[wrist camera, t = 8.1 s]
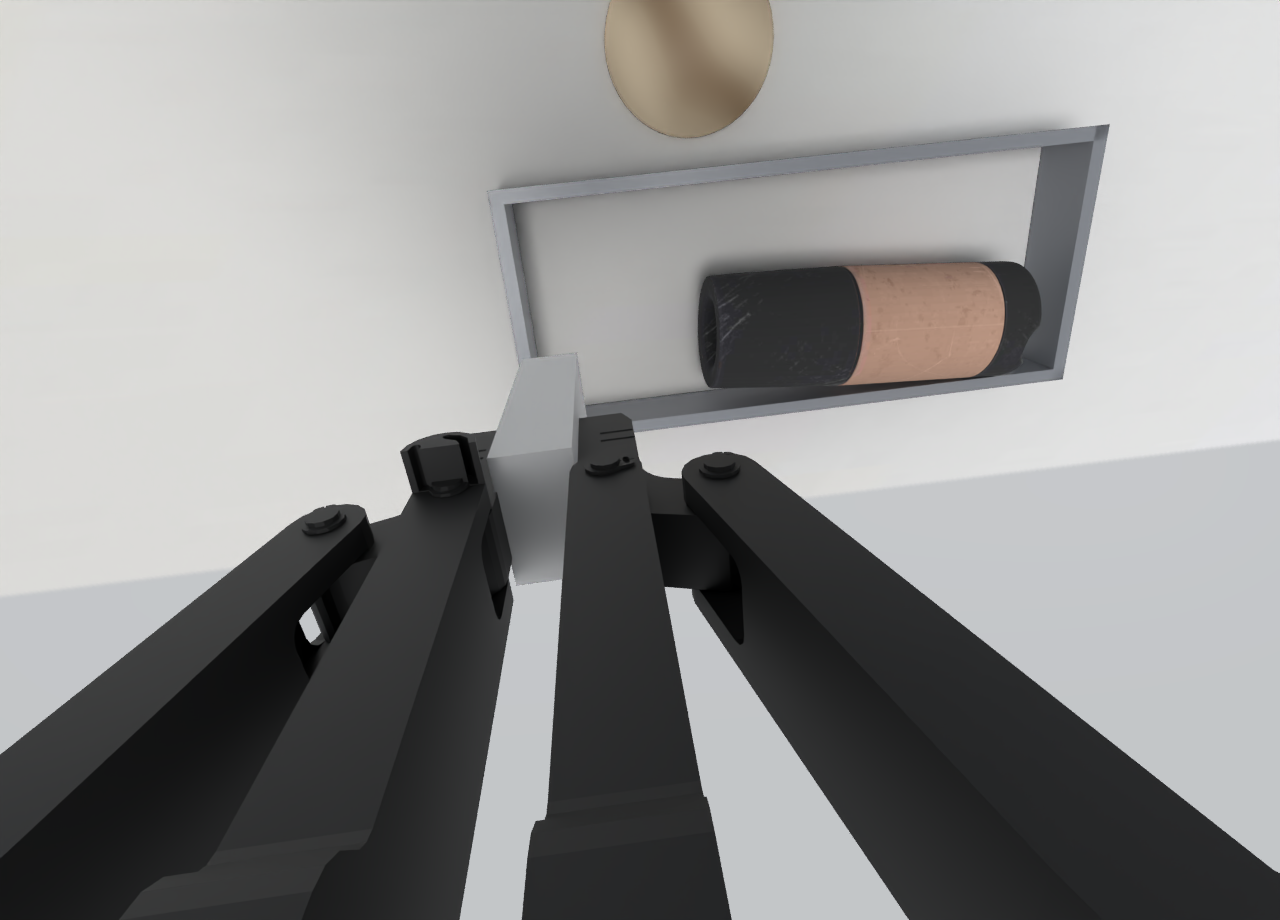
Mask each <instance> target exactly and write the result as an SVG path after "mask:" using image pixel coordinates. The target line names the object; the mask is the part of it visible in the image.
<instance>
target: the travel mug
mask: <svg viewBox="0 0 1280 920" xmlns="http://www.w3.org/2000/svg"><path fill="white" fill-rule="evenodd" d="M1041 316H1042V307H1041V298H1040V293H1039V290H1038V286H1037V284H1036V282H1035V279H1034V278H1033V276H1032V275H1031V273H1030V272H1029V271H1028V270H1027V269H1026V268H1025V267H1023V266H1021V265H1020V264H1018V263H1014V262H1006V261H999V262H964V263H929V264H894V265H858V266H840V267H839V266H834V267H820V268H806V269H792V270H778V271H765V272H751V273H737V274H725V275H714V276H709V277H706V278H705V280H704V282H703V285H702V289H701V294H700V302H699V315H698V338H699V352H700V360H701V367H702V372H703V376H704V379H705V382H706V384H707V385H708V387H710V388H760V387H804V386H837V385H838V386H841V385H857V384H872V383H888V382H903V381H918V380H934V379H949V378H965V377H980V376H996V375H1003V374H1007V373H1010V372H1012V371H1014V370H1015V369H1017V368H1018V367H1020V366H1021V365H1022V364H1023V359H1022V354H1023V351H1024V348H1025V346H1026V344H1027V342H1028V340H1029V338H1030V336H1031V335H1032V334H1033V333H1034V332H1035V331H1036V330H1037V329H1038V328H1039V326H1040V323H1041Z"/></svg>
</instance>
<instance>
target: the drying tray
mask: <svg viewBox="0 0 1280 920" xmlns="http://www.w3.org/2000/svg"><path fill="white" fill-rule="evenodd" d="M1109 125H1110V124H1108V125H1099V126H1089V127H1080V128H1071V129H1061V130H1052V131H1043V132H1033V133H1024V134H1014V135H1005V136H996V137H986V138H977V139H968V140H958V141H949V142H940V143H930V144H921V145H911V146H902V147H893V148H883V149H874V150H865V151H855V152H846V153H837V154H827V155H818V156H808V157H799V158H790V159H780V160H771V161H762V162H752V163H743V164H734V165H724V166H715V167H705V168H696V169H687V170H677V171H668V172H659V173H649V174H640V175H630V176H621V177H612V178H602V179H593V180H584V181H574V182H565V183H556V184H546V185H537V186H527V187H518V188H509V189H499V190H490V191H487V192H488V198H489V203H490V209H491V214H492V220H493V225H494V231H495V236H496V242H497V247H498V253H499V258H500V264H501V269H502V275H503V280H504V286H505V291H506V297H507V302H508V308H509V313H510V319H511V324H512V330H513V335H514V341H515V346H516V352H517V357H518V363H519V367H520V364H521V361H522V359H530V358H538V355H537V349H536V343H535V337H534V331H533V325H532V319H531V313H530V307H529V301H528V295H527V290H526V284H525V278H524V272H523V266H522V260H521V254H520V248H519V242H518V236H517V230H516V224H515V218H514V212H513V206H512V204H514V203H523V202H532V201H541V200H551V199H560V198H569V197H578V196H588V195H597V194H606V193H616V192H625V191H634V190H643V189H653V188H662V187H671V186H680V185H690V184H699V183H708V182H718V181H727V180H736V179H745V178H755V177H764V176H773V175H783V174H792V173H801V172H810V171H820V170H829V169H838V168H847V167H857V166H866V165H875V164H885V163H894V162H903V161H912V160H922V159H931V158H940V157H949V156H959V155H968V154H977V153H987V152H996V151H1005V150H1014V149H1024V148H1033V147H1042V151H1041V158H1040V164H1039V171H1038V178H1037V185H1036V191H1035V198H1034V205H1033V212H1032V218H1031V225H1030V232H1029V239H1028V246H1027V252H1026V259H1025V266H1024V267H1025V268H1026V269H1027V270H1028V271H1029V272H1030V273H1031V275H1032V276H1033V278H1034V279H1035V282H1036V284H1037V286H1038V290H1039V293H1040V298H1041V307H1042V316H1041V323H1040V326H1039V328H1038V329H1037V330H1036V331H1035V332H1034V333H1033V334H1032V335H1031V336H1030V338H1029V340H1028V342H1027V344H1026V346H1025V348H1024V351H1023V354H1022V359H1023V364H1022V365H1021V366H1020V367H1018V368H1017V369H1015V370H1014V371H1012V372H1010V373H1007V374H1003V375H996V376H980V377H965V378H949V379H934V380H918V381H903V382H888V383H872V384H857V385H841V386H838V385H837V386H804V387H760V388H726V389H718V390H709V391H701V392H693V393H685V394H677V395H668V396H660V397H652V398H644V399H636V400H627V401H619V402H611V403H603V404H595V405H586V406H585V408H586V415H587V417H592V416H600V415H608V414H616V413H622V414H624V415H625V416H627V417H628V418H630V419H632V425H633V430H634V432H642V431H650V430H658V429H666V428H674V427H682V426H690V425H698V424H706V423H714V422H722V421H730V420H738V419H746V418H754V417H762V416H770V415H778V414H786V413H795V412H803V411H811V410H819V409H827V408H835V407H843V406H851V405H859V404H867V403H875V402H883V401H891V400H899V399H907V398H915V397H923V396H931V395H939V394H948V393H956V392H964V391H972V390H980V389H988V388H996V387H1004V386H1012V385H1020V384H1028V383H1036V382H1044V381H1052V380H1060V379H1063V374H1064V368H1065V363H1066V358H1067V352H1068V347H1069V341H1070V336H1071V331H1072V325H1073V320H1074V314H1075V309H1076V304H1077V298H1078V293H1079V287H1080V282H1081V276H1082V271H1083V266H1084V260H1085V255H1086V249H1087V244H1088V239H1089V233H1090V228H1091V222H1092V217H1093V212H1094V206H1095V201H1096V195H1097V190H1098V185H1099V179H1100V174H1101V168H1102V163H1103V157H1104V152H1105V147H1106V141H1107V136H1108V130H1109Z"/></svg>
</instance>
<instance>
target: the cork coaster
mask: <svg viewBox="0 0 1280 920" xmlns="http://www.w3.org/2000/svg"><path fill="white" fill-rule="evenodd" d="M773 39H774V35H773V19H772V12H771V8H770V4H769V0H611V1H610V4H609V8H608V13H607V18H606V25H605V54H606V61H607V65H608V70H609V73H610V76H611V79H612V82H613V85H614V87H615V89H616V91H617V93H618V95H619V96H620V98H621V99H622V101H623V102H624V104H625V105H626V107H627V108H628V109H629V110H630V111H631V113H632V114H633V115H634V116H635V117H637V118H638V119H639V120H640V121H641V122H642V123H644V124H645V125H647V126H648V127H650V128H651V129H653V130H655V131H658V132H660V133H662V134H665V135H669V136H673V137H679V138H693V137H701V136H704V135H708V134H711V133H714V132H716V131H718V130H720V129H722V128H724V127H726V126H727V125H729V124H731V123H732V122H733V121H734V120H736V119H737V118H738V117H739V116H740V115H741V114H742V113H743V112H744V111H745V110H746V109H747V108H748V107H749V106H750V104H751V103H752V102H753V100H754V99H755V97H756V96H757V94H758V92H759V90H760V89H761V87H762V85H763V82H764V80H765V78H766V75H767V72H768V69H769V65H770V61H771V56H772V51H773Z"/></svg>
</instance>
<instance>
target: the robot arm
mask: <svg viewBox="0 0 1280 920" xmlns="http://www.w3.org/2000/svg"><path fill="white" fill-rule="evenodd" d="M400 453H401V456H402V459H403V463H404V466H405V469H406V473H407V476H408V480H409V483H410V486H411V490H412V495H411V497H410V499H409V500H408V502H407V504H406V506H405V508H404V509H403V511H402V513H401V515H399V516H396V517H393V518H389V519H385V520H382V521H378V522H375V523H371V524H370V523H369V520H368V517H367V514H366V512H365V509H364V508H362V507H360V506H359V505H350V504H345V505H329V506H326V508H324V507H321V508H318V509H315V510H314V511H313V512H312V513H309V514H307V515H305V516H302V517H301V518H299V519H298V520H296V521H294V522H293V523H291V524H290V525H289V526H287V527H286V528H285V529H284V530H282V531H281V532H280V533H279V534H277V535H276V536H275V537H274V538H272V539H271V540H270V541H269V542H267V543H266V544H265V545H264V546H262V547H261V548H260V549H258V550H257V551H256V552H255V553H253V554H252V555H251V556H250V557H248V558H247V559H246V560H245V561H243V562H242V563H241V564H240V565H238V566H237V567H236V568H235V569H233V570H232V571H231V572H230V573H228V574H227V575H226V576H225V577H223V578H222V579H221V580H219V581H218V582H217V583H216V584H214V585H213V586H212V587H211V588H210V589H208V590H207V591H206V592H204V593H203V594H202V595H201V596H199V597H198V598H197V599H196V600H194V601H193V602H192V603H191V604H189V605H188V606H187V607H186V608H184V609H183V610H182V611H180V612H179V613H178V614H177V615H176V616H174V617H173V618H172V619H170V620H169V621H168V622H167V623H165V624H164V625H163V626H162V627H160V628H159V629H158V630H157V631H155V632H154V633H153V634H152V635H150V636H149V637H148V638H146V639H145V640H144V641H143V642H142V643H140V644H139V645H138V646H136V647H135V648H134V649H133V650H131V651H130V652H129V653H128V654H126V655H125V656H124V657H123V658H121V659H120V660H119V661H118V662H116V663H115V664H114V665H113V666H111V667H110V668H109V669H107V670H106V671H105V672H104V673H102V674H101V675H100V676H99V677H97V678H96V679H95V680H94V681H92V682H91V683H90V684H89V685H87V686H86V687H85V688H84V689H82V690H81V691H80V692H79V693H77V694H76V695H75V696H73V697H72V698H71V699H70V700H68V701H67V702H66V703H65V704H63V705H62V706H61V707H60V708H58V709H57V710H56V711H55V712H53V713H52V714H51V715H50V716H48V717H47V718H46V719H45V720H43V721H42V722H41V723H40V724H38V725H37V726H36V727H35V728H33V729H32V730H31V731H29V732H28V733H27V734H26V735H24V736H23V737H22V738H21V739H19V740H18V741H17V742H16V743H14V744H13V745H12V746H11V747H9V748H8V749H7V750H6V751H4V752H3V753H2V754H0V920H459V919H460V913H461V907H462V901H463V895H464V889H465V883H466V878H467V872H468V866H469V860H470V854H471V848H472V842H473V836H474V830H475V824H476V819H477V812H478V807H479V801H480V795H481V789H482V783H483V777H484V771H485V765H486V759H487V754H488V747H489V742H490V735H491V730H492V724H493V718H494V712H495V706H496V700H497V695H498V689H499V683H500V676H501V670H502V664H503V658H504V653H505V647H506V641H507V635H508V630H509V623H510V618H511V612H512V606H513V596H512V591H511V586H510V582H509V578H508V577H509V571H510V566H511V565H512V569H513V573H514V578H515V582H516V585H524V584H531V583H538V582H546V581H553V580H560V579H562V595H561V610H560V625H559V641H558V655H557V670H556V685H555V701H554V718H553V732H552V747H551V762H550V763H551V764H550V778H549V794H548V805H547V814H546V817H545V820H540V821H536V822H535V824H534V827H533V830H532V832H531V837H530V845H529V851H528V858H527V869H526V880H525V891H524V902H523V913H522V920H732V919H731V914H730V909H729V904H728V898H727V894H726V888H725V883H724V878H723V872H722V867H721V862H720V857H719V852H718V846H717V841H716V836H715V831H714V826H713V822H712V817H711V813H710V807H709V804H708V801H707V797H704V795H703V791H702V787H701V781H700V776H699V771H698V765H697V760H696V754H695V749H694V744H693V738H692V733H691V728H690V723H689V718H688V711H687V706H686V700H685V695H684V690H683V684H682V679H681V674H680V668H679V663H678V657H677V652H676V647H675V641H674V636H673V631H672V625H671V620H670V614H669V609H668V604H667V598H666V593H665V587H675V588H687V589H692V595H693V598H694V601H695V604H696V605H697V607H698V608H699V610H700V611H701V612H702V614H703V615H704V617H705V618H706V620H707V621H708V623H709V624H710V626H711V627H712V629H713V630H714V632H715V633H716V635H717V636H718V638H719V639H720V641H721V642H722V644H723V645H724V647H725V648H726V649H727V651H728V652H729V654H730V655H731V657H732V658H733V660H734V661H735V663H736V664H737V666H738V667H739V668H740V670H741V671H742V673H743V675H744V676H745V677H746V679H747V681H748V682H749V684H750V685H751V687H752V688H753V689H754V691H755V692H756V694H757V695H758V697H759V698H760V700H761V701H762V703H763V704H764V706H765V707H766V709H767V710H768V712H769V713H770V714H771V716H772V718H773V719H774V721H775V722H776V724H777V725H778V726H779V728H780V729H781V731H782V732H783V734H784V735H785V737H786V738H787V740H788V741H789V742H790V744H791V746H792V747H793V749H794V750H795V752H796V753H797V755H798V756H799V757H800V759H801V761H802V762H803V763H804V765H805V766H806V768H807V769H808V771H809V772H810V774H811V775H812V777H813V778H814V780H815V781H816V783H817V784H818V786H819V787H820V789H821V790H822V791H823V793H824V795H825V796H826V797H827V799H828V800H829V802H830V803H831V805H832V806H833V808H834V809H835V811H836V812H837V814H838V815H839V817H840V818H841V820H842V821H843V822H844V824H845V826H846V827H847V829H848V830H849V832H850V833H851V835H852V836H853V837H854V839H855V840H856V842H857V843H858V845H859V846H860V848H861V849H862V851H863V852H864V854H865V855H866V857H867V858H868V860H869V861H870V863H871V864H872V866H873V867H874V868H875V870H876V872H877V873H878V874H879V876H880V878H881V879H882V880H883V882H884V883H885V885H886V886H887V888H888V889H889V891H890V892H891V894H892V895H893V897H894V898H895V900H896V901H897V903H898V904H899V906H900V907H901V909H902V910H903V912H904V913H905V915H906V916H907V917H908V919H909V920H1280V873H1278V872H1276V871H1274V870H1273V869H1271V868H1270V867H1269V866H1267V865H1266V864H1265V863H1264V862H1262V861H1261V860H1260V859H1259V858H1257V857H1256V856H1255V855H1253V854H1252V853H1251V852H1250V851H1249V850H1247V849H1246V848H1245V847H1243V846H1242V845H1241V844H1240V843H1238V842H1237V841H1236V840H1235V839H1233V838H1232V837H1231V836H1229V835H1228V834H1227V833H1226V832H1224V831H1223V830H1222V829H1221V828H1219V827H1218V826H1217V825H1215V824H1214V823H1213V822H1212V821H1210V820H1209V819H1208V818H1207V817H1205V816H1204V815H1203V814H1201V813H1200V812H1199V811H1198V810H1196V809H1195V808H1194V807H1193V806H1191V805H1190V804H1189V803H1188V802H1186V801H1185V800H1184V799H1183V798H1181V797H1180V796H1179V795H1177V794H1176V793H1175V792H1174V791H1172V790H1171V789H1170V788H1168V787H1167V786H1166V785H1165V784H1164V783H1162V782H1161V781H1160V780H1159V779H1157V778H1156V777H1155V776H1153V775H1152V774H1151V773H1149V772H1148V771H1147V770H1146V769H1145V768H1143V767H1142V766H1141V765H1140V764H1138V763H1137V762H1136V761H1134V760H1133V759H1132V758H1131V757H1129V756H1128V755H1127V754H1126V753H1124V752H1123V751H1122V750H1120V749H1119V748H1118V747H1117V746H1115V745H1114V744H1113V743H1112V742H1110V741H1109V740H1108V739H1107V738H1105V737H1104V736H1103V735H1101V734H1100V733H1099V732H1098V731H1096V730H1095V729H1094V728H1093V727H1091V726H1090V725H1089V724H1087V723H1086V722H1085V721H1084V720H1082V719H1081V718H1080V717H1079V716H1077V715H1076V714H1075V713H1074V712H1072V711H1071V710H1070V709H1069V708H1067V707H1066V706H1065V705H1063V704H1062V703H1061V702H1059V701H1058V700H1057V699H1056V698H1055V697H1053V696H1052V695H1051V694H1049V693H1048V692H1047V691H1046V690H1044V689H1043V688H1042V687H1040V686H1039V685H1038V684H1037V683H1036V682H1034V681H1033V680H1032V679H1030V678H1029V677H1028V676H1026V675H1025V674H1024V673H1023V672H1021V671H1020V670H1019V669H1018V668H1016V667H1015V666H1014V665H1013V664H1011V663H1010V662H1009V661H1008V660H1006V659H1005V658H1004V657H1003V656H1001V655H1000V654H999V653H997V652H996V651H995V650H994V649H992V648H991V647H990V646H989V645H987V644H986V643H985V642H984V641H982V640H981V639H980V638H979V637H977V636H976V635H975V634H973V633H972V632H971V631H970V630H968V629H967V628H966V627H965V626H963V625H962V624H961V623H960V622H958V621H957V620H956V619H954V618H953V617H952V616H951V615H949V614H948V613H947V612H945V611H944V610H943V609H942V608H940V607H939V606H938V605H937V604H935V603H934V602H933V601H932V600H930V599H929V598H928V597H927V596H925V595H924V594H923V593H921V592H920V591H919V590H918V589H916V588H915V587H914V586H913V585H911V584H910V583H909V582H908V581H906V580H905V579H904V578H902V577H901V576H900V575H899V574H897V573H896V572H895V571H894V570H892V569H891V568H890V567H888V566H887V565H886V564H884V563H883V562H882V561H881V560H880V559H878V558H877V557H876V556H875V555H873V554H872V553H871V552H869V551H868V550H867V549H866V548H864V547H863V546H862V545H861V544H859V543H858V542H857V541H856V540H854V539H853V538H852V537H851V536H849V535H848V534H847V533H845V532H844V531H843V530H841V529H840V528H839V527H838V526H837V525H835V524H834V523H833V522H831V521H830V520H829V519H828V518H826V517H825V516H824V515H822V514H821V513H820V512H819V511H818V510H816V509H815V508H814V507H812V506H811V505H810V504H809V503H807V502H806V501H805V500H804V499H802V498H801V497H800V496H799V495H797V494H796V493H795V492H793V491H792V490H791V489H790V488H788V487H787V486H786V485H785V484H783V483H782V482H781V481H780V480H778V479H777V478H776V477H774V476H773V475H772V474H771V473H769V472H768V471H767V470H766V469H764V468H763V467H762V466H761V465H759V464H758V463H757V462H755V461H754V460H752V459H750V458H748V457H746V456H743V455H738V454H733V453H731V452H724V453H722V452H715V453H712V454H709V455H704V456H701V457H698V458H695V459H692V460H691V461H690V462H688V463H687V464H685V465H684V467H683V469H682V479H679V478H664V477H659V476H655V475H652V474H650V473H647V472H646V471H645V470H643V469H642V463H641V461H640V460H639V457H638V451H637V446H636V441H635V435H634V430H633V425H632V419H630V418H628V417H627V416H625V415H624V414H622V413H616V414H608V415H600V416H592V417H587V415H586V408H585V402H584V395H583V389H582V382H581V376H580V369H579V363H578V356H577V353H569V354H562V355H554V356H546V357H538V358H530V359H522V361H521V364H520V367H519V370H518V373H517V375H516V378H515V381H514V384H513V387H512V389H511V392H510V395H509V398H508V401H507V403H506V406H505V409H504V412H503V415H502V417H501V420H500V423H499V426H498V429H497V431H489V432H481V433H473V434H469V433H462V432H450V433H442V434H437V435H432V436H429V437H425V438H422V439H419V440H417V441H415V442H413V443H411V444H409V445H407V446H406V447H405V448H404V449H403V450H402V451H400ZM310 607H311V609H312V611H313V614H314V616H315V619H316V621H317V623H318V626H319V628H320V631H321V633H320V635H319V636H318V637H317V638H316V639H315V640H314V641H312V642H311V643H310V642H309V641H308V640H307V639H306V637H305V634H304V632H303V630H302V627H301V625H300V623H299V620H300V619H301V617H302V615H303V614H304V613H305V612H306V611H307V610H308V609H309V608H310Z"/></svg>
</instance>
